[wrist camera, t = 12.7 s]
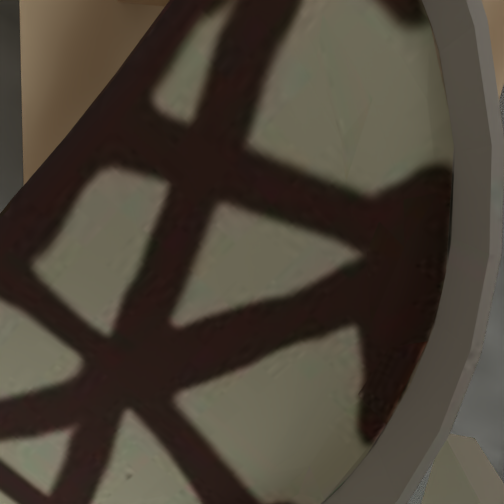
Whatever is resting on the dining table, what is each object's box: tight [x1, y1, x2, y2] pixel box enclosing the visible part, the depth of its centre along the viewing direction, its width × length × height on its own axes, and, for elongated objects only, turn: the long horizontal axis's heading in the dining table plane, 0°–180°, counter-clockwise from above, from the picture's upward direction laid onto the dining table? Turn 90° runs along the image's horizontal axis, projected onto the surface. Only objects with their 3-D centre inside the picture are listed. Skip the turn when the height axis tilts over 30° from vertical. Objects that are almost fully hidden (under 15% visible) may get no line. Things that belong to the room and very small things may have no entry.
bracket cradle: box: [20, 0, 504, 184], centre depth 11 cm, size 16×19×7 cm
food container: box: [0, 0, 504, 504], centre depth 9 cm, size 12×6×10 cm, turn 137°
